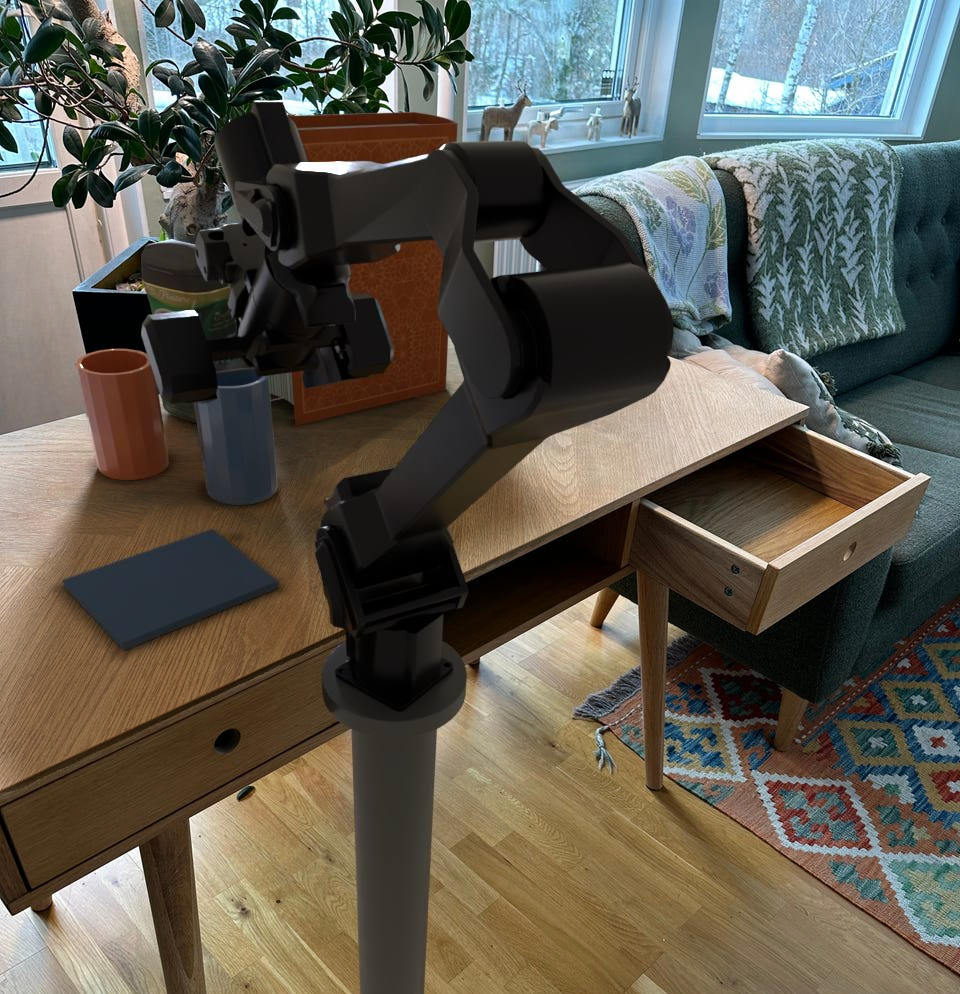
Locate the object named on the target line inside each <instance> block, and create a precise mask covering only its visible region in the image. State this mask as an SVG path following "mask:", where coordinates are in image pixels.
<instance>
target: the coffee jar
mask: <svg viewBox="0 0 960 994" xmlns="http://www.w3.org/2000/svg"><path fill="white" fill-rule="evenodd" d="M140 257H141V258H140V263H141V264H140V265H141V269H140V270H141V281H142V285H143V288H144V291H145V293H146V296H147V299H148V302H149V306H150V310H151V314H161V313H171V312H181V311H191V310H194V311H195V312H196V313H197V314H198V315H199V318H200V322H201V325H202V328H203V331H204V334H205V337H206V340H212V339H221V338H230V337H238V328H237V320H236V319H237V318H235V319H233V318H232V316H231V313H230V310H229V307H228V301H229V297H230V294H231V291H230V287H229V285H228V284H221V282H220V281H212V282H207V281H205V279H204V277H203V275H202V273H201V270H200V268H199V266H198V264H197V261H196V256H195V243H194V244H193V243H189V242H185V241H180V240H176V239H173V238H171V239H166V240H161V241H157V242H153V243H148V244H146V245H145V246H144V248H143V250H142V252H141V256H140ZM231 360H233V359H231ZM237 360H238V359H237ZM222 361H223V360H222ZM161 402H162V407H163V409H164V410H165V411H166V412H167V413H168V414H169V415H172V416H174V417H177V418H179V419H182V420H186V421H189V422H191V423H196V424H197V420H196V413H195V406H194V403H187V404H185V403H181V402H180V403H173V404H170V403H169V402H167V401H165V400H164V399H162V398H161Z"/></svg>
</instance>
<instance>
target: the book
mask: <svg viewBox="0 0 960 994" xmlns="http://www.w3.org/2000/svg"><path fill="white" fill-rule="evenodd" d="M287 116H288V117H289V118H290V119H292V120H293V122H294V123H295V125H296V127H297V130H298V133H299V136H300V139H301V142H302V145H303V148H304V151H305V154H306V157H307V160H308V163H328V162H358V161H370V162H374V163H379V164H387V163H391V162H395V161H400V160H404V159H408V158H412V157H417V156H421V155H425V154H429V153H431V152H432V151H433V150H435V149H440V148H441V147H442V146H443V145H444V144H446V143H448V142H458V124H459V123H458V122H456V121H455V120H453V119H450V118H446V117H442V116H440V115H435V114H429V113H423V112H416V111H403V112H401V111H400V112H373V113H372V112H369V113H368V112H367V113H363V112H362V113H337V114H335V113H334V114H331V113H330V114H301V115H300V114H299V115H287ZM400 247H401V248H400V250H399V251H398V252H397V253H395V254H393V255H391V256H389V257H387V258H385V259H383V260H381V261H379V262H374V263H362V264H351V265H350V279H349V281H348V288H349V291H350V294H361V293H368V294H370V295H371V296H373V297H374V298H375V299H376V300H377V301H378V302H379V304H380V307H381V310H382V313H383V316H384V319H385V323H386V326H387V329H388V332H389V335H390V338H391V341H392V344H393V347H394V357H393V359H392V361H391V363H390V365H389V366H388V367H387V369H386V370H385V372H384V373H381V374H374V375H370V376H368V377H366V378H359V379H354V380H349V381H344V382H339V383H334V384H328V385H323V386H318V387H313V388H308V389H306V388H305V386H304V383H303V380H302V376H303V372H304V371H299V372H291V373H284V374H277V375H269V385H270V397H271V401H273V400H278V399H281V398H282V399H284V400H286V401H287V402H289V403H290V404H291V405H293V414H294V415H293V416H294V425H295V426H301V425H305V424H309V423H313V422H317V421H321V420H325V419H329V418H333V417H338V416H342V415H346V414H350V413H355V412H358V411H364V410H368V409H371V408H375V407H380V406H383V405H388V404H392V403H396V402H400V401H404V400H408V399H413V398H417V397H420V396H421V397H422V396H425V395H429V394H434V393H437V392H438V393H439V392H443V391H446V389H447V375H448V373H447V372H448V353H449V352H448V351H449V350H448V348H449V335H448V333H447V331H446V329H445V327H444V325H443V323H442V322H441V320H440V318H439V315H438V310H437V307H438V298H439V290H440V282H441V274H442V266H443V255H442V253H441V251H440V250H439V248H438V246H437V244H436V242H435V240H427V241H413V242H402V243H400Z"/></svg>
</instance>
